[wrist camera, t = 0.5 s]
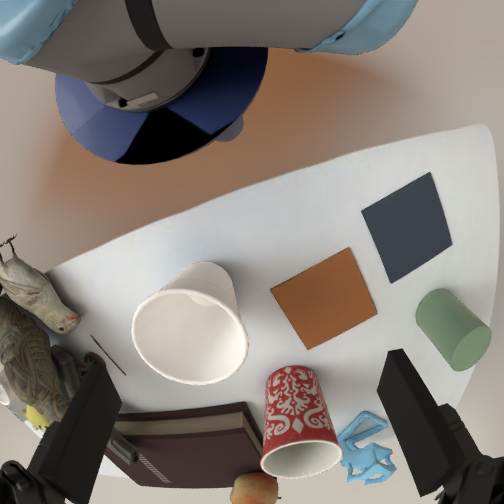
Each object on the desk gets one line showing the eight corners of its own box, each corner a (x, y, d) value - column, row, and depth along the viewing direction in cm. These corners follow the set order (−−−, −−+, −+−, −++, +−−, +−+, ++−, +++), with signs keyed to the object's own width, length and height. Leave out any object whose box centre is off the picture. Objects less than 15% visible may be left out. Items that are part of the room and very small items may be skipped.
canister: (411, 304, 34) (448, 347, 25) (448, 280, 33) (491, 316, 24) (420, 336, 36) (452, 380, 27) (454, 313, 35) (491, 351, 25)
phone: (1, 396, 44) (-1, 399, 43) (15, 377, 41) (12, 381, 40) (25, 419, 46) (23, 422, 45) (43, 404, 43) (40, 408, 42)
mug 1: (22, 378, 41) (0, 406, 32) (-6, 342, 38) (-31, 368, 29) (48, 366, 39) (22, 400, 30) (16, 324, 36) (-15, 354, 27)
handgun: (144, 416, 31) (142, 458, 35) (57, 339, 37) (64, 389, 41) (129, 428, 29) (130, 468, 32) (44, 345, 35) (53, 395, 38)
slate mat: (360, 211, 30) (361, 211, 30) (429, 172, 29) (430, 172, 28) (390, 282, 33) (391, 283, 33) (451, 244, 31) (452, 244, 31)
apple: (246, 464, 35) (295, 479, 34) (238, 467, 40) (281, 480, 39) (226, 508, 29) (278, 522, 28) (221, 504, 35) (265, 518, 34)
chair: (327, 435, 43) (338, 491, 32) (364, 410, 41) (384, 466, 29) (352, 445, 44) (365, 495, 33) (387, 421, 42) (407, 472, 31)
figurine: (91, 334, 36) (78, 351, 32) (126, 375, 38) (117, 393, 34) (71, 346, 37) (59, 361, 33) (105, 383, 39) (95, 400, 35)
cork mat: (270, 289, 33) (270, 290, 33) (348, 247, 32) (349, 247, 31) (307, 348, 36) (307, 350, 36) (376, 312, 35) (377, 313, 34)
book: (149, 468, 48) (143, 488, 42) (98, 413, 42) (87, 436, 36) (275, 461, 45) (277, 485, 40) (245, 401, 39) (244, 432, 34)
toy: (35, 439, 39) (-3, 403, 31) (40, 414, 44) (6, 374, 37) (87, 447, 41) (52, 413, 33) (89, 419, 47) (59, 380, 39)
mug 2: (252, 366, 37) (252, 449, 24) (320, 353, 36) (343, 433, 24) (269, 421, 41) (273, 492, 28) (326, 410, 40) (342, 480, 28)
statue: (15, 270, 38) (124, 408, 34) (-13, 306, 35) (89, 446, 30) (-22, 244, 28) (94, 420, 24) (-52, 288, 25) (54, 465, 20)
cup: (150, 293, 34) (115, 347, 23) (191, 226, 31) (162, 264, 21) (219, 335, 36) (209, 400, 25) (267, 276, 33) (273, 333, 22)
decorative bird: (91, 306, 35) (71, 332, 37) (14, 226, 30) (1, 259, 32) (73, 330, 30) (55, 354, 32) (-10, 240, 25) (-20, 275, 27)
